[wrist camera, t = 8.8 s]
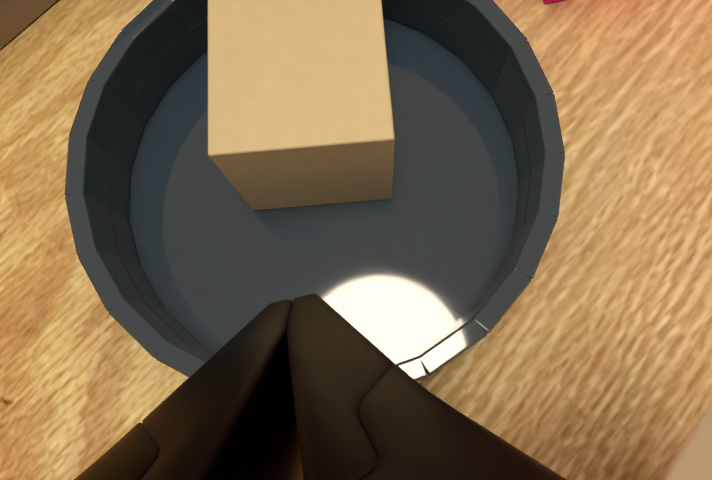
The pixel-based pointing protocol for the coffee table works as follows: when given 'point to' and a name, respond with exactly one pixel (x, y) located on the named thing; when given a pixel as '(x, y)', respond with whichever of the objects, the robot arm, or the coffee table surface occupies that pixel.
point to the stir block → (300, 101)
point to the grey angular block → (19, 16)
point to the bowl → (319, 222)
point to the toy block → (551, 1)
